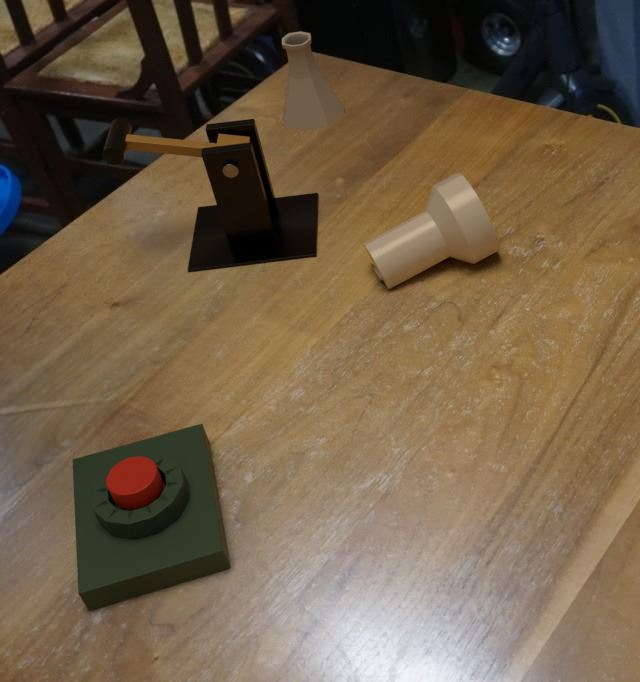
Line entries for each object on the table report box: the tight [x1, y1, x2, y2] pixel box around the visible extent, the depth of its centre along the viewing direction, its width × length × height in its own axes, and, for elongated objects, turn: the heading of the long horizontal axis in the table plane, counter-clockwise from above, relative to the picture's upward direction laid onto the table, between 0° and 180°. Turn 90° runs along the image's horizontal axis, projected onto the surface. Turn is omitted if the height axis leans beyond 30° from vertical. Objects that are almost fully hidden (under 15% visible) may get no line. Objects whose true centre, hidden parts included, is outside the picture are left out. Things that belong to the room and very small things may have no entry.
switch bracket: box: [187, 118, 320, 273], centre depth 103 cm, size 12×10×12 cm
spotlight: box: [362, 172, 501, 290], centre depth 100 cm, size 8×11×8 cm
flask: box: [281, 30, 345, 132], centre depth 119 cm, size 7×7×10 cm
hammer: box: [101, 117, 250, 166], centre depth 99 cm, size 12×5×2 cm, turn 96°
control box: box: [72, 423, 232, 612], centre depth 81 cm, size 13×10×4 cm
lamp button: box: [106, 456, 163, 510], centre depth 79 cm, size 4×4×2 cm
